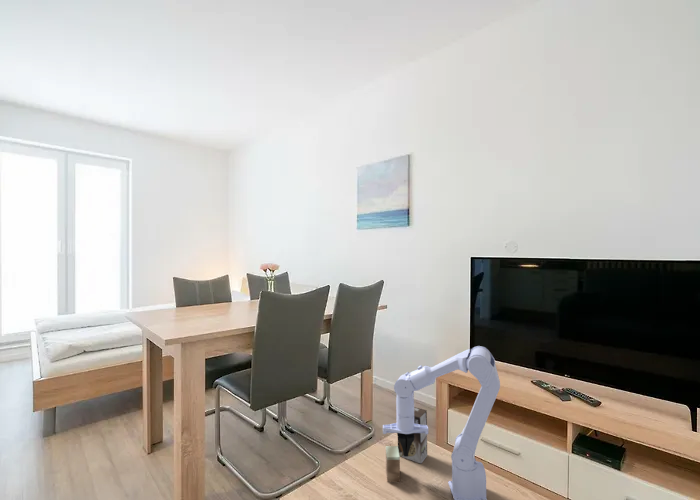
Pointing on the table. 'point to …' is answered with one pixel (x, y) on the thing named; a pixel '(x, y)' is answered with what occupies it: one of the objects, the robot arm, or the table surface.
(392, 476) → the wooden block
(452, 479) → the robot arm
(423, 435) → the coffee box
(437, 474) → the table surface
